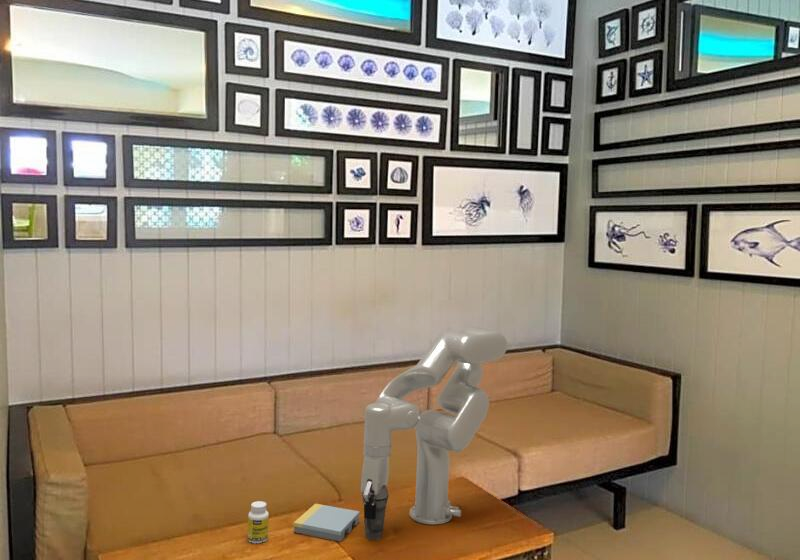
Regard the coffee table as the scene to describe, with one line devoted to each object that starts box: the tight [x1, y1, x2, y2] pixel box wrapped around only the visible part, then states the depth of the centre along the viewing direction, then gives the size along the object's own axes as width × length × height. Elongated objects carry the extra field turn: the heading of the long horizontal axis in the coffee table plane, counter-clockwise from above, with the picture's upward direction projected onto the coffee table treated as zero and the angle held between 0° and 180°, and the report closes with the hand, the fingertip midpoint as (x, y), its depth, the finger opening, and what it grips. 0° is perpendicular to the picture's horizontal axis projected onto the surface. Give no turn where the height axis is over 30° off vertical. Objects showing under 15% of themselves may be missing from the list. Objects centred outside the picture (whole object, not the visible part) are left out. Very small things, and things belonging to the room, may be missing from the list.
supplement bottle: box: [246, 500, 270, 544], centre depth 179 cm, size 5×5×10 cm
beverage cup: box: [361, 485, 389, 541], centre depth 183 cm, size 7×7×20 cm
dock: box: [293, 503, 361, 543], centre depth 188 cm, size 14×14×3 cm
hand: (374, 512), depth 183 cm, fingers closed on beverage cup, 6 cm apart
